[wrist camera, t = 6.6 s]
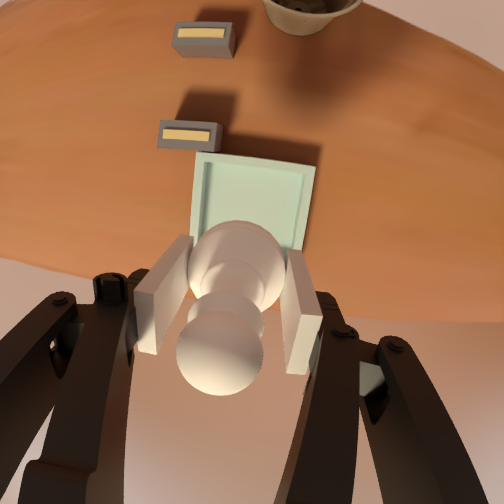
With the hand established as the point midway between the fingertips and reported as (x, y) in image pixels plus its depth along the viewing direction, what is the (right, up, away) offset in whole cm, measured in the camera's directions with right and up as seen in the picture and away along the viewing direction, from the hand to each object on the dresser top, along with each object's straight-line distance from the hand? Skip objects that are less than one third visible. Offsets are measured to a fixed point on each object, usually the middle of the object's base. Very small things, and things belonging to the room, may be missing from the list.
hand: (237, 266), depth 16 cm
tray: (+1, +5, +13) cm, 14 cm away
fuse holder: (-4, +16, +9) cm, 19 cm away
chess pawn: (0, 0, 0) cm, 1 cm away
